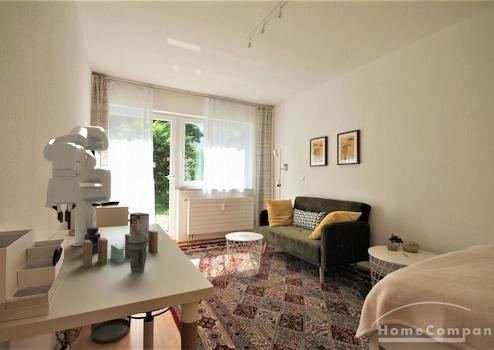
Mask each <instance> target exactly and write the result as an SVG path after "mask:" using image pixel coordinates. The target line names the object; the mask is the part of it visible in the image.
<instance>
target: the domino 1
mask: <svg viewBox="0 0 494 350" xmlns="http://www.w3.org/2000/svg"><path fill="white" fill-rule="evenodd" d="M82 266H83V267H84V268H85V269H90V268H92V267H93V254H92V242H91V241H90V240H84V241H83V246H82Z"/></svg>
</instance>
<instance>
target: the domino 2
mask: <svg viewBox="0 0 494 350" xmlns="http://www.w3.org/2000/svg"><path fill="white" fill-rule="evenodd" d="M108 241H109V240H108V239H107V238H105V237H100V238H98V253H97V262H98V263H99V264H100V265H101V266H102V265H108V247H109V246H108Z"/></svg>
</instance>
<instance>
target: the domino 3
mask: <svg viewBox="0 0 494 350" xmlns="http://www.w3.org/2000/svg"><path fill="white" fill-rule="evenodd" d="M130 235H131V234H130V232H129V233H125V234H124V257H126V258H127V259H129V260H130V253H129V247H128V239H129V237H130Z"/></svg>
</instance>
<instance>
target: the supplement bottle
mask: <svg viewBox="0 0 494 350" xmlns="http://www.w3.org/2000/svg"><path fill="white" fill-rule="evenodd" d="M86 232H87V234H85V235H84V240H90V241H91V242H92V255H94V254H95V255H96V254H98V238H101V233H100V232H99V226H96V227H90V228H87V231H86Z"/></svg>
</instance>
